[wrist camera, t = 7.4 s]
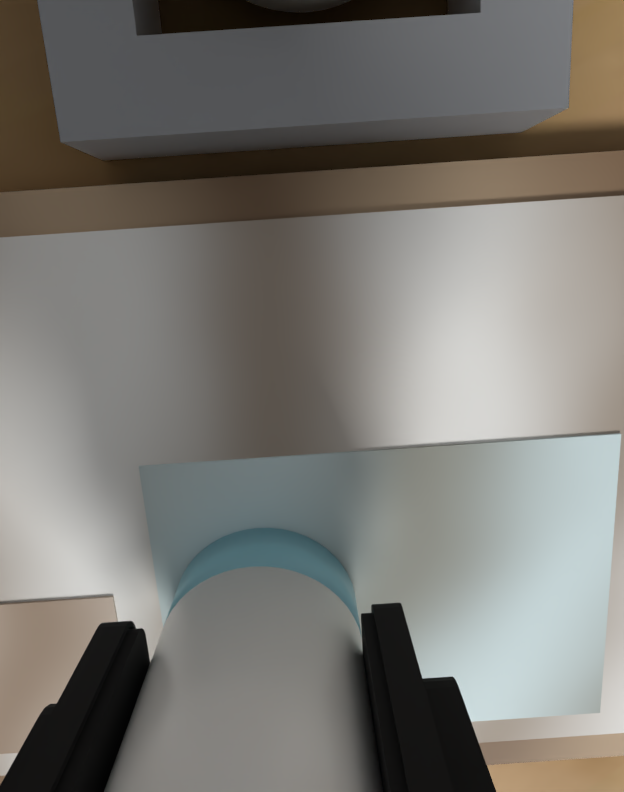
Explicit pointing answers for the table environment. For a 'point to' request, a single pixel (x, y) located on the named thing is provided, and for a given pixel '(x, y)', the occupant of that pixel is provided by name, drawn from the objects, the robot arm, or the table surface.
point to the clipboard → (328, 418)
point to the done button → (298, 5)
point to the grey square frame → (301, 78)
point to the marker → (255, 678)
